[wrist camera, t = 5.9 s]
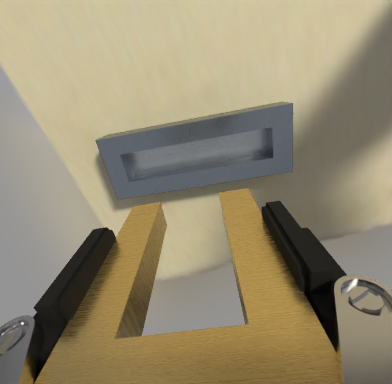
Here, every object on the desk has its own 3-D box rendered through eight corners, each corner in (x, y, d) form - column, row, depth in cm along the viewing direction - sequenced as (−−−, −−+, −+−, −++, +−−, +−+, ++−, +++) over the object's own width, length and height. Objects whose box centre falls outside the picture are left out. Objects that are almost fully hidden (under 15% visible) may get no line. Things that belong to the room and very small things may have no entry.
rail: (282, 101, 23) (292, 103, 21) (282, 163, 26) (292, 171, 23) (106, 135, 25) (95, 140, 22) (125, 189, 28) (117, 199, 25)
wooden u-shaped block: (247, 188, 12) (364, 406, 4) (250, 212, 13) (353, 445, 4) (133, 206, 12) (4, 434, 4) (141, 229, 13) (43, 465, 5)
